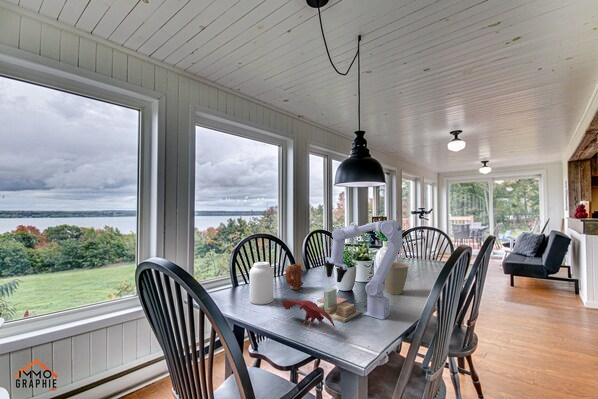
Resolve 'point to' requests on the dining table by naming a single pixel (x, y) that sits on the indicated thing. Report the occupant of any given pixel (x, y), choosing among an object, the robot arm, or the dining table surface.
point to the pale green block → (330, 298)
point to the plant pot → (396, 278)
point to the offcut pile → (345, 310)
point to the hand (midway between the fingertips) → (334, 279)
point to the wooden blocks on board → (332, 314)
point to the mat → (339, 300)
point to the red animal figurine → (308, 310)
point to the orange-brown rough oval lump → (294, 276)
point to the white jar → (261, 283)
